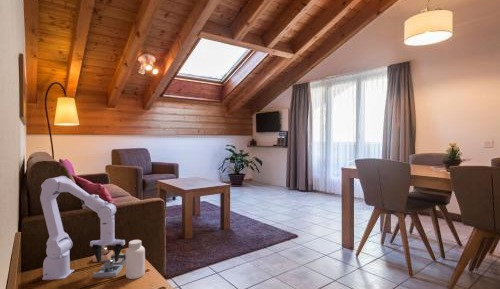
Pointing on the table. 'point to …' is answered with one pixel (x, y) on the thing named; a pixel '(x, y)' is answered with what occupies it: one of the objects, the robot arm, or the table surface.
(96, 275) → the trough
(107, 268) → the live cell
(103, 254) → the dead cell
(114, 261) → the pad
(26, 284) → the table surface
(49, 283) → the table surface
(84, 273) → the table surface
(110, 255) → the pink square tube
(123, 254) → the digital scale
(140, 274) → the pill bottle
